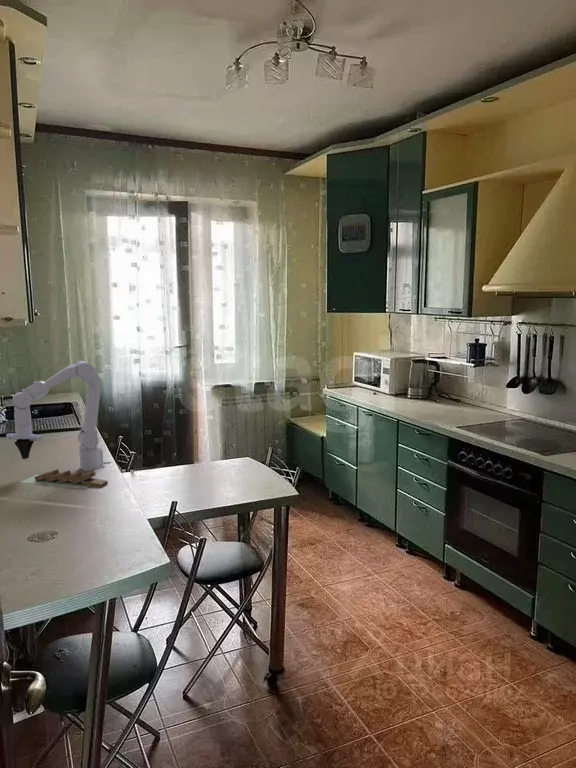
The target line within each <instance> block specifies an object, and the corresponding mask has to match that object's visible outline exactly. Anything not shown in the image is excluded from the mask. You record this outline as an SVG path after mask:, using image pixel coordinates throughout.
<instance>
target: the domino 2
mask: <svg viewBox="0 0 576 768" xmlns="http://www.w3.org/2000/svg"><path fill="white" fill-rule="evenodd" d="M71 474H72V472H71V470H70V469H69V470H67V471H62V472H59V474H57V475H54V476H52V477H49V478H46V479H47V482H50V481H54V480H57V479H61V478H64V477H67V476H69V475H71Z"/></svg>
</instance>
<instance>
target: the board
mask: <svg viewBox="0 0 576 768" xmlns="http://www.w3.org/2000/svg"><path fill="white" fill-rule="evenodd" d="M38 475H39V474H35V475H33V476H31V477H28V478H26V479H24V480H21V481H20V483H24V484H32V485H43V486H50V487H51V486H52V487H63V488H72V489H84V490H86V489H88V488H89V487H91V486H85V485H83V481H81V482H78V483H76V484H73V485H72V482H71V480H70V481H66V482H63V483H59V480H58V479H57V480H54V481H50V482H47V479H46V478H45V479H42V480H38V481H36V480H35V477H36V476H38Z"/></svg>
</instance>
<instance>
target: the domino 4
mask: <svg viewBox="0 0 576 768" xmlns="http://www.w3.org/2000/svg"><path fill="white" fill-rule="evenodd" d="M94 477H96V473H95V471H94V470H93V471H91V472H87V473H85V474H83V476H81V477H79V478H76V479H73V480H71V482H72V485H73V484H76V483H78V482H81V481H84V480H86V479H89V478H94Z"/></svg>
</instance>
